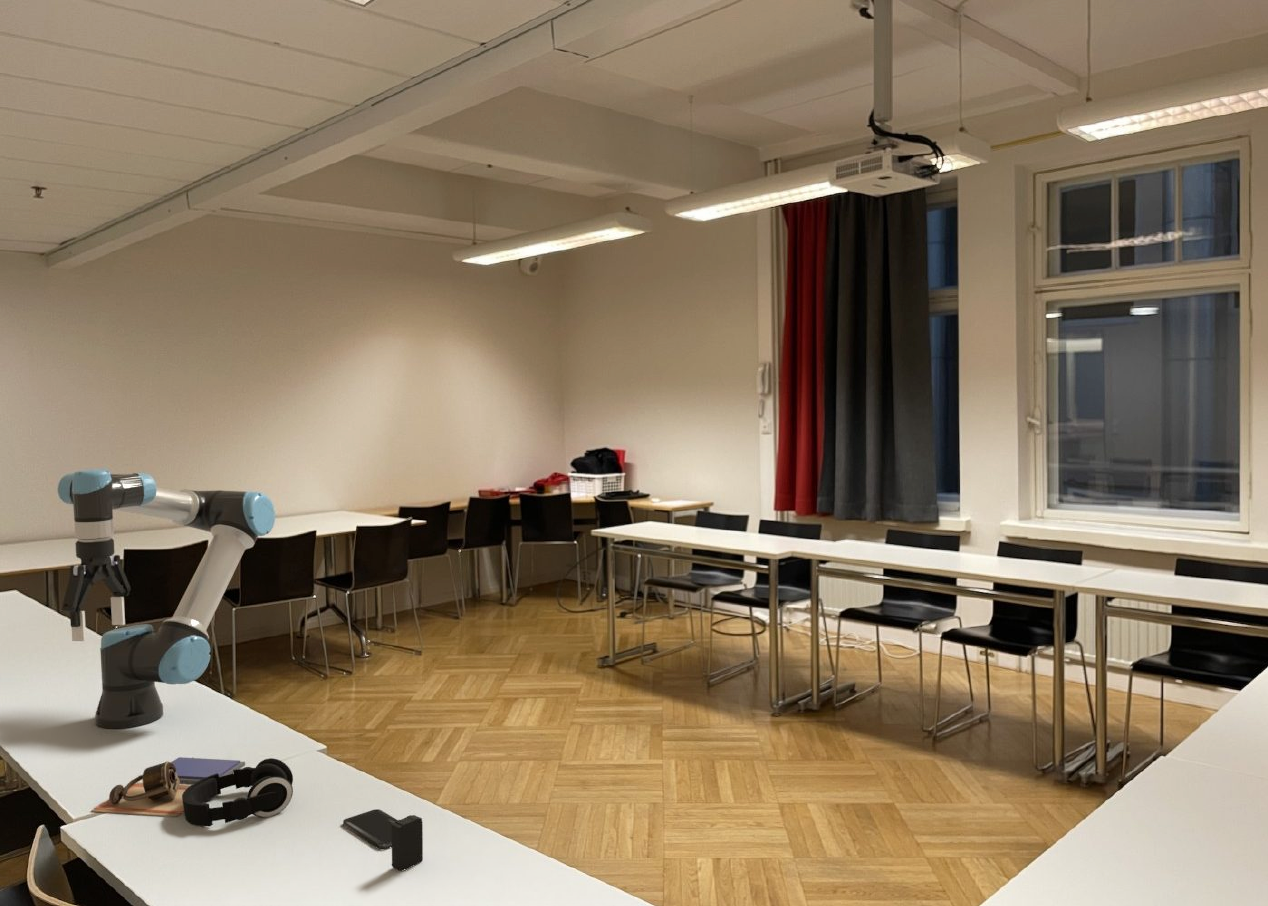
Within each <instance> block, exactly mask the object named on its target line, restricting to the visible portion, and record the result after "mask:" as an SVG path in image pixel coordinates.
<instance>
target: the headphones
mask: <svg viewBox="0 0 1268 906" xmlns="http://www.w3.org/2000/svg"><path fill="white" fill-rule="evenodd" d="M233 772H234V773H233V774H229V775H225V776H221V777H219V774H218V773H216V774H213V775H211V776H208V777H206V778H203V779H201V780H199V781H197V782H196V783H194V784H193V783H191V785H190V787H188V788H187V789H186V790H185V791H184V792H183V794H182V801H183V807H184V812H183V813H184V819H185V821H186V822H187V823H188V824H190V825H193V826H199V827H211V826H213V825H214V824H213V822H215V821H216V822H217V821H221V820H222V821H223V820H224V823H225V824H228V823H231V822H234V821H242V820H245V819H247V818H248V817H249V816H251V815H253V816H255V817H256V818H261V819H265V818H270V817H273V816H276V815H278V814H281V812H283V811H284V810H285V809H286V808H287V806H288V805H289V803H290V802H291V800H292V797H293V795H294V793H293V792H294V788H293V782H294V775H293V772H292V769H291V768H290V767H289V766H288V765H287V764H286V763H285V762H283V761H282V760H280V759H278V758H272V757H271V758H265V759H263V760H261V761H260V762H259V763H258V764H257V765H256V766H255V767H251V766H246V767H245V766H244V767H242V768H240V769H236V770H233ZM232 786H235V789H236V790H237V789H238V790H239V789H241V788H249V790H248V792H247V795H246V797H243V796H242V797H238V798H235V799H234V800H229V801H223V802H221V804H222V806H217V807H210V803H207V802H206V801H208V800H210V799H212V798H214V797H216V796H220V795H221V794H222V791H221V790H223V789H227V788H230V787H232Z"/></svg>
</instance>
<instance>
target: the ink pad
mask: <svg viewBox="0 0 1268 906" xmlns="http://www.w3.org/2000/svg"><path fill="white" fill-rule="evenodd" d="M170 762H171V763H172V764H173V765H174V766H175V767H176V773H177V776H178V778H179V780H180V784H194V783H196V782H197V781H199V780H201V779H203V778H206V777H208V776H211V775H213V774H216V773H218V774H219V777H221V776H225V775H229V774H234V772H233V770H236V769H242V768H244V767H245V766H246V761H241V760H237V759H236V760H235V759H218V758H217V759H216V758H201V757H200V758H198V757H195V758H194V757H182V756H181V757H180V756H179V757H177V758H175V759H174V760H172V761H170Z"/></svg>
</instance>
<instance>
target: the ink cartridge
mask: <svg viewBox="0 0 1268 906" xmlns="http://www.w3.org/2000/svg"><path fill="white" fill-rule="evenodd" d="M397 820H398V821H396V822H395V823H393V824H391V829H392V847H391V867H392V868H394V869H396V870H398V871H400V872H403V871H402V870H404V869H406V870H408V869H409V867H410V868H412V867H413V865H414V866H416V865H418V864H420V863H422V862H423V859H424V856H423V855H424V853H423V850H424V847H423V845H424V844H423V843H424V842H423V840H424V838H423V836H424V835H423V834H424V833H423V827H424V826H423V818H422V817H419V816H417V815H416V814H413V815H412V814H411V815H407V816H406V817H404V818H402V819H401V818H400V819H397ZM411 866H412V867H411ZM407 868H408V869H407ZM404 871H405V870H404Z"/></svg>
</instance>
